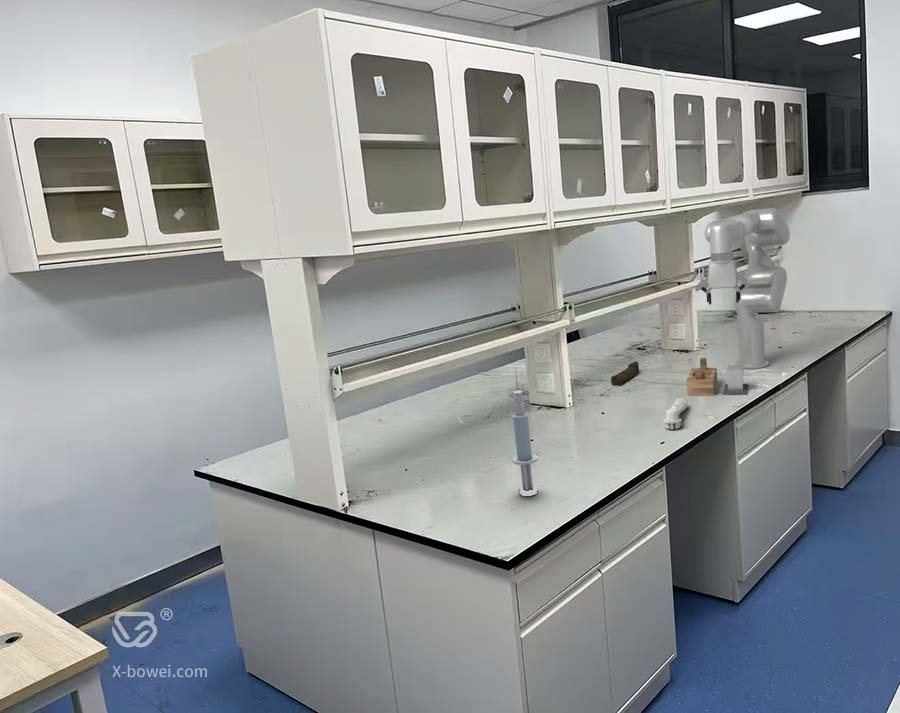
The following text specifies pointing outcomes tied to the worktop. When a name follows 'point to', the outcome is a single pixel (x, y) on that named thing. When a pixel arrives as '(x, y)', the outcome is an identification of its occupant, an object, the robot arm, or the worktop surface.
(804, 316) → the worktop surface
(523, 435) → the syringe
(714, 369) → the body
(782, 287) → the robot arm
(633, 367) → the hand tool
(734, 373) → the silver block
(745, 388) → the rubber mat
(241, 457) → the worktop surface
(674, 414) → the electric toothbrush
